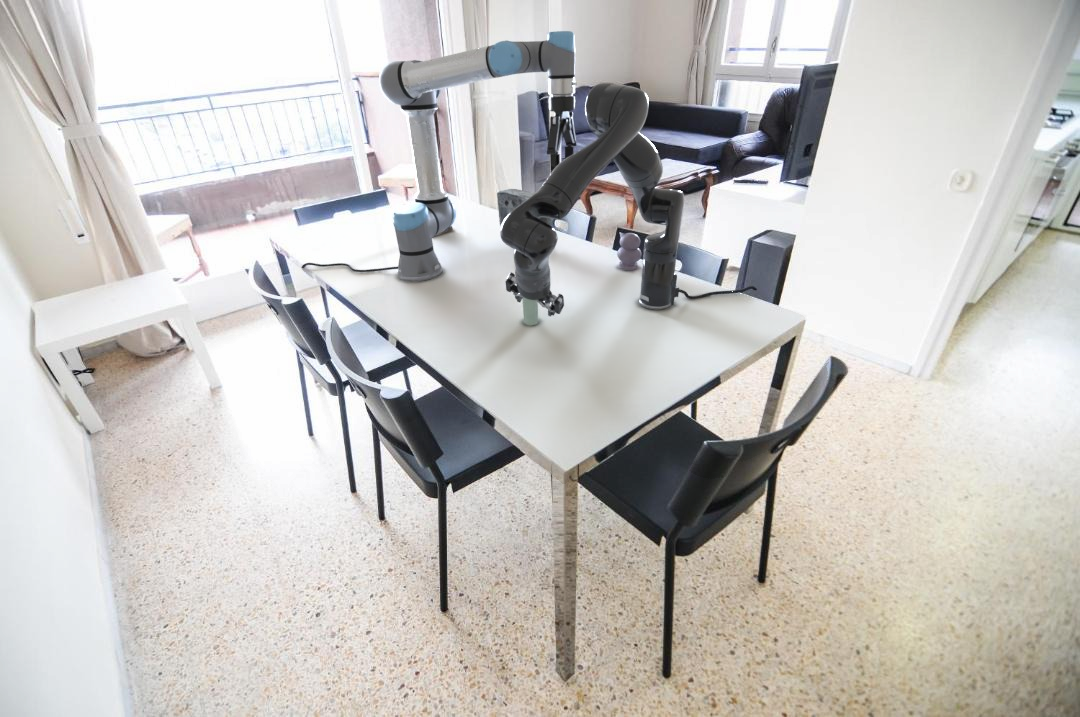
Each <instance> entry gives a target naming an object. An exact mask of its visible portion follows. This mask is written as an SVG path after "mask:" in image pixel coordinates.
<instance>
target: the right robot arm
mask: <svg viewBox="0 0 1080 717" xmlns="http://www.w3.org/2000/svg"><path fill="white" fill-rule="evenodd" d="M584 106H585V107H584V113H585V120H586V122H587V125H588V126H589V129H590V130H591V132H592V133H593V134H594V135H595V137H596V138H597V139H595V140H594V141H592V142H591V143H589V144H588V145H586V146H585V147H583V148H581V149H579V150H578V151H575V152H574V154H572V155H570V156H569V157H567V158H566V159H565V158H564V159H563V160H562V161H560V163H559V164H558V165H557V166H556V167H555V169H554V170H553V171H552V172H551V173H549V175H548V176H547V178H546V179H545V180H544V182H543V183H542V184H541V186H540V187H539V188H538V190H537V191H535V192H534V193H535V194H533V195H532V196H531V197H530V198H528V199H527V200H526V201H525V202H523V203H522V204H520V205H519V206H518V207H516V208H515V209H514V210H513V211H511V212H510V213H509V214H508V215H507V217H506V218H505V219H504V221H503V223H502V225H501V230H500V231H499V234H500V235H499V236H500V239H501V241H502V242H503V243H504V244H505V245H506V246H508V247H510V248H511V249H513V250H514V252H513V263H514V267H515V268H514V272H512V271H511V272H509V274H508V276H507V277H506V279H505V281H504V282H505V290H506V292H507V293H512V295H513V296H514V299H515V300H516V302H517V303H521V302H522V301H523V300H522V298H523V297H524V298H526V299H529V300H535V301H536V302H538V305H540V306H541V307H542V308H545V309H546V310H547V316H548V317H552V316H553V317H554V316H555V314H556V315H560V314H561V312H562V310H563V308H564V307H565V298H564V295H563V294H562V293H558V295H555V294H553V292H552V291H551V267H550V256H551V255H552V253H553V251H554V250H555V249H556V246H557V244H558V233H557V231H556V230H555V228H554V227H553V226H552V225H551V226H550V225H549V224H547V223H545V222H543V221H542V220H540V219H538V218H540V217H546V218H551V220H556V221H561V220H563V219H565V218H566V217H567V216H568V214H569V213H570V212H571V210H572V209H573V208H574V206H575V204H576V203H577V202H578V201H579V199H580V198H581V196H582V195H583V194H584V192H585V191H586V189H587V188H588V187H589V186H590V184H591V183H592V182H593V180H594V179H596V177H597V176H598V175H599V174H600V173H601V172H603V170H604V169H605V168H606V167H608V165H609V164H610V163H611V162H612V161H613V162H614V163H615V165H616V167H617V168H618V170H619V172H620V175H621V176H622V178H623V180H624V182H625V183H626V185H627V187H628V188H629V189H630V192H631V194H632V195H633V197H634V199H635V202H636V205H637V208H638V211H639V213H640V216H641V218H642V220H643V221H645V222H646V223H648V224H653V225H660V226H665V228H664V230H663V231H660V232H655V233H652V234H649V235H647V236H646V237H645V238H644V242H643V255H642V268H641V269H642V271H641V279H640V280H641V283H640V293H639V301H638V302H639V305H640V306H641V307H643V308H645V309H648V310H653V311H660V310H666V309H669V308H670V307H671V306H675V299H676V298H679V293H681V294H683V295H684V296H685V298H687V299H689V300H696V299H697V300H698V299H702V298H706V297H710V296H715V295H716V296H717V295H728V294H731V295H732V294H740V293H744V292H747V291H749V290H753V291H758V289H757V287H756V286H754V285H749V286H746V287H744V288H741V289H734V290H733V289H732V290H731V289H730V290H717V291H710V292H705V293H703V294H699V295H689V293H688V292H687V291H685V290H684V289H682V288H680V287H679V286H677V281H678V274H676V264H677V257H678V256H677V254H678V247H679V241H680V234H681V227H682V220H683V216H684V211H685V210H684V209H685V195H684V192H683V191H681V190H678V189H667V188H658V187H657V186H658V185H659V183H660V181H661V179H662V176H663V173H664V166H663V163H662V160H661V157H660V155H659V152H658V150H657V149H656V146H655V145H654V144H653V143H652V142H651V141H650V140H649V139H648V138H647V137H646V136H644V135H643V134H642V133H640V132H641V130H642V129H643V127H644V125H645V123H646V121H647V117H648V114H649V97H648V95H647V93H646V92H645V91H644V90H642V89H641V88H638V87H635V86H631V85H626V84H621V83H616V82H611V81H610V82H607V81H606V82H600V83H597V84H595V85H594V86H593V87H592V88H591V89H590V90H589V92H588V93H587V96H586V99H585V105H584ZM732 291H733V292H732Z"/></svg>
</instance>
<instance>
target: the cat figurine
mask: <svg viewBox="0 0 1080 717" xmlns="http://www.w3.org/2000/svg"><path fill="white" fill-rule="evenodd" d="M619 237H620V238H619V245H620V247H619V249H618V250H617V253H616V256H617V258H618V260H619V262H618V268H619V269H620V270H623V271H634V270H637V269H638V264H639V263H638V262H639V261H640V260H641V258H642V251H641V249H640V248H639V247H640V246H641V238H640V236H638V234H635V233H633V232H627V233H623V232H620V231H619Z"/></svg>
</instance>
